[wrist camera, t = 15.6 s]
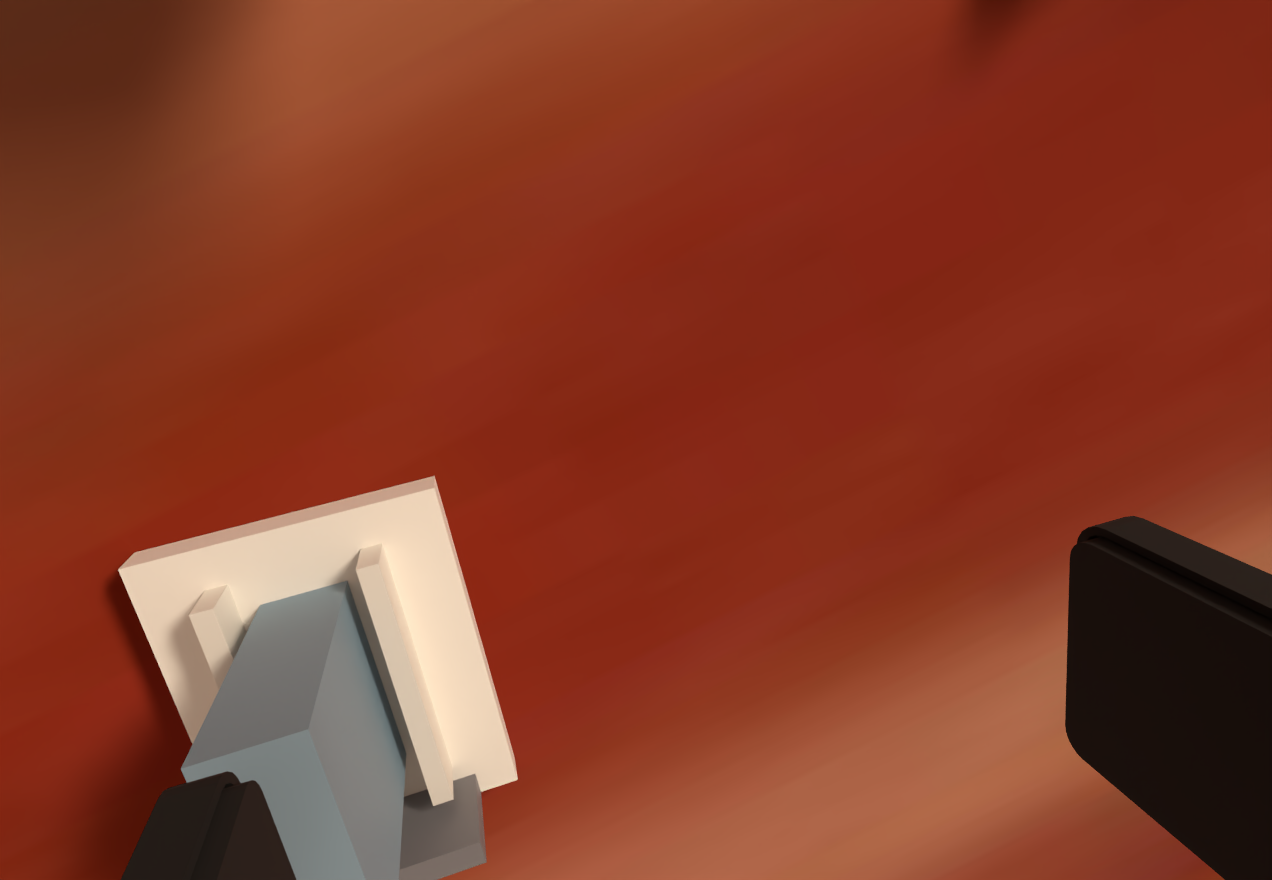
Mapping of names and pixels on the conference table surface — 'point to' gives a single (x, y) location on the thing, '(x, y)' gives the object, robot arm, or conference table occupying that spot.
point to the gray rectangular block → (312, 737)
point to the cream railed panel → (395, 628)
